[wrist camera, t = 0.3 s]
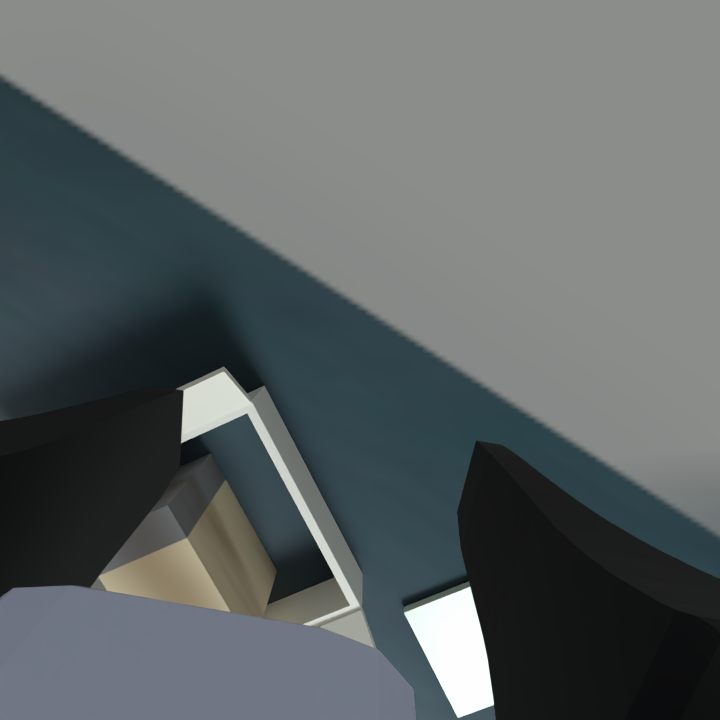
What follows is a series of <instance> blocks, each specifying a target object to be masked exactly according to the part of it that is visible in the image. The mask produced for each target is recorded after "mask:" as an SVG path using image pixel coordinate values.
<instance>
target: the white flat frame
mask: <svg viewBox="0 0 720 720" xmlns="http://www.w3.org/2000/svg"><path fill="white" fill-rule="evenodd" d="M177 390H183V391H184V396H183V416H182V436H181V443H183V442H185V441H187V440H189V439H191V438H194V437H196V436H198V435H200V434H202V433H205V432H207V431H209V430H211V429H213V428H216V427H218V426H220V425H222V424H224V423H227V422H229V421H231V420H233V419H235V418H238V417H240V416H242V415H244V414H246V413H247V414H248V415H249V417H250V419H251V421H252V423H253V425H254V427H255V429H256V430H257V432H258V434H259V436H260V438H261V440H262V442H263V444H264V445H265V447H266V449H267V451H268V453H269V455H270V457H271V458H272V460H273V462H274V464H275V466H276V468H277V470H278V472H279V473H280V475H281V477H282V479H283V481H284V483H285V485H286V487H287V488H288V490H289V492H290V494H291V496H292V498H293V500H294V501H295V503H296V505H297V507H298V509H299V511H300V513H301V515H302V516H303V518H304V520H305V522H306V524H307V526H308V528H309V530H310V531H311V533H312V535H313V537H314V539H315V541H316V543H317V544H318V546H319V548H320V550H321V552H322V554H323V556H324V558H325V559H326V561H327V563H328V565H329V567H330V569H331V571H332V573H333V574H334V576H335V577H334V578H332V579H329V580H327V581H324V582H322V583H319V584H317V585H315V586H312V587H310V588H307V589H305V590H302V591H300V592H297V593H295V594H292V595H290V596H287V597H285V598H283V599H280V600H278V601H275V602H273V603H270V604H268V605H267V607H266V610H265V613H264V617H263V618H268V619H273V620H279V621H285V622H291V623H297V624H302V625H308V626H314V627H320V628H325V629H327V630H330V631H332V632H335V633H337V634H340V635H342V636H345V637H348V638H350V639H353V640H355V641H358V642H360V643H363V644H365V645H368V646H370V647H373V648H375V649H376V646H375V643H374V640H373V637H372V634H371V631H370V629H369V626H368V623H367V620H366V617H365V614H364V611H363V609H362V577H363V574H362V572H361V570H360V568H359V566H358V564H357V562H356V560H355V558H354V556H353V554H352V553H351V551H350V549H349V547H348V545H347V543H346V541H345V539H344V537H343V535H342V533H341V531H340V530H339V528H338V526H337V524H336V522H335V520H334V518H333V516H332V514H331V512H330V510H329V508H328V507H327V505H326V503H325V501H324V499H323V497H322V495H321V493H320V491H319V489H318V487H317V485H316V484H315V482H314V480H313V478H312V476H311V474H310V472H309V470H308V468H307V466H306V464H305V462H304V461H303V459H302V457H301V455H300V453H299V451H298V449H297V447H296V445H295V443H294V441H293V439H292V438H291V436H290V434H289V432H288V430H287V428H286V426H285V424H284V422H283V420H282V418H281V416H280V415H279V413H278V411H277V409H276V407H275V405H274V403H273V401H272V399H271V397H270V395H269V393H268V392H267V390H266V388H265V386H262V387H260V388H258V389H256V390H254V391H251V392H249V393H246V392H245V390H244V389H243V388H242V387H241V386H240V385H239V383H238V382H237V381H236V380H235V379H234V377H233V376H232V375H231V374H230V373H229V372H228V370H227V369H226V368H225V367H222V368H220V369H218V370H215V371H213V372H211V373H209V374H207V375H205V376H203V377H200V378H198V379H196V380H194V381H192V382H190V383H188V384H186V385H183V386H181V387H179V388H177ZM91 588H93V589H99V590H105V591H107V590H106V588H105V587H104V585H103V583H102V582H101V580H100V579H99V577H98V578H97V579H96V581H95V582H94V583H93V585H92V586H91Z"/></svg>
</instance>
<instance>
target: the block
mask: <svg viewBox="0 0 720 720" xmlns="http://www.w3.org/2000/svg"><path fill="white" fill-rule="evenodd" d="M276 573H277V570H276V568H275V567H274V565H273V563H272V561H271V559H270V558H269V556H268V554H267V552H266V550H265V549H264V547H263V545H262V543H261V542H260V540H259V538H258V536H257V534H256V533H255V531H254V529H253V527H252V525H251V524H250V522H249V520H248V518H247V517H246V515H245V513H244V511H243V509H242V508H241V506H240V504H239V502H238V500H237V499H236V497H235V495H234V493H233V491H232V490H231V488H230V486H229V484H228V483H227V481H226V479H225V477H224V475H223V474H222V472H221V470H220V468H219V466H218V465H217V463H216V461H215V459H214V458H213V456H212V454H211V453H210V454H208V455H205V456H203V457H201V458H199V459H196V460H194V461H192V462H190V463H188V464H185V465H183V466H181V467H179V468H178V469H177V471H176V473H175V475H174V476H173V478H172V480H171V482H170V483H169V485H168V487H167V488H166V490H165V492H164V493H163V495H162V497H161V498H160V499H159V501H158V502H157V503H156V505H155V506H154V507H153V508H152V510H151V511H150V512H149V514H148V515H147V516H146V517H145V519H144V520H143V521H142V522H141V524H140V525H139V526H138V527H137V529H136V530H135V531H134V532H133V534H132V535H131V536H130V537H129V539H128V540H127V541H126V542H125V544H124V545H123V546H122V547H121V549H120V550H119V551H118V552H117V554H116V555H115V556H114V557H113V559H112V560H111V561H110V562H109V564H108V565H107V566H106V567H105V569H104V570H103V571H102V573H101V574H100V575H99V579H100V580H101V582H102V583H103V585H104V587H105V588H106V590H107V591H111V592H116V593H122V594H128V595H134V596H140V597H146V598H151V599H157V600H163V601H169V602H175V603H180V604H186V605H192V606H198V607H204V608H209V609H215V610H221V611H227V612H233V613H239V614H244V615H250V616H256V617H262V618H263V617H264V613H265V610H266V607H267V603H268V600H269V596H270V593H271V590H272V586H273V583H274V580H275V576H276Z"/></svg>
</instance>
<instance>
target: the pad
mask: <svg viewBox="0 0 720 720" xmlns="http://www.w3.org/2000/svg"><path fill="white" fill-rule="evenodd" d="M404 614H405V615H406V617H407V619H408V621H409V623H410V625H411V627H412V629H413V631H414V633H415V635H416V637H417V639H418V641H419V643H420V645H421V647H422V649H423V651H424V653H425V655H426V657H427V658H428V660H429V662H430V664H431V666H432V668H433V670H434V672H435V674H436V676H437V678H438V680H439V682H440V684H441V686H442V688H443V690H444V692H445V694H446V696H447V698H448V700H449V701H450V703H451V705H452V707H453V709H454V711H455V713H456V715H457V717H458V718H459V717H462V716H464V715H467V714H470V713H473V712H475V711H478V710H481V709H484V708H486V707H489V706H492V705H494V700H493V694H492V687H491V680H490V673H489V666H488V659H487V654H486V649H485V644H484V639H483V635H482V631H481V627H480V623H479V619H478V615H477V611H476V607H475V603H474V599H473V595H472V591H471V587H470V584H469V581H468V582H466V583H463V584H461V585H458V586H456V587H453V588H451V589H448V590H445V591H443V592H440V593H438V594H435V595H433V596H430V597H428V598H425V599H423V600H420V601H418V602H415V603H412V604H410V605H407V606H405V607H404Z"/></svg>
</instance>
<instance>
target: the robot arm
mask: <svg viewBox="0 0 720 720" xmlns="http://www.w3.org/2000/svg"><path fill="white" fill-rule="evenodd" d="M183 396H184V391H183V390H177V389H171V388H165V387H150V388H144V389H140V390H135V391H131V392H127V393H123V394H119V395H115V396H112V397H108V398H104V399H100V400H96V401H93V402H89V403H85V404H81V405H76V406H72V407H68V408H64V409H59V410H55V411H51V412H46V413H42V414H38V415H33V416H28V417H22V418H17V419H11V420H5V421H0V720H416V713H415V702H414V691H413V688H412V687H411V686H410V685H409V684H408V683H407V682H406V680H405V679H404V678H403V677H402V676H401V675H400V674H399V672H398V671H397V670H396V669H395V668H394V667H393V666H392V665H391V663H390V662H389V661H388V660H387V659H386V658H385V657H384V655H383V654H382V653H381V652H380V651H379V650H377V649H375V648H373V647H370V646H368V645H365V644H363V643H360V642H358V641H355V640H353V639H350V638H348V637H345V636H342V635H340V634H337V633H335V632H332V631H330V630H327V629H325V628H320V627H314V626H308V625H302V624H297V623H291V622H285V621H279V620H273V619H268V618H262V617H256V616H250V615H244V614H239V613H233V612H227V611H221V610H215V609H209V608H204V607H198V606H192V605H186V604H180V603H175V602H169V601H163V600H157V599H151V598H146V597H140V596H134V595H128V594H122V593H116V592H111V591H105V590H99V589H93V588H91V586H92V585H93V583H94V582H95V581H96V579H97V578H98V577H99V575H100V574H101V573H102V571H103V570H104V569H105V567H106V566H107V565H108V564H109V562H110V561H111V560H112V559H113V557H114V556H115V555H116V554H117V552H118V551H119V550H120V549H121V547H122V546H123V545H124V544H125V542H126V541H127V540H128V539H129V537H130V536H131V535H132V534H133V532H134V531H135V530H136V529H137V527H138V526H139V525H140V524H141V522H142V521H143V520H144V519H145V517H146V516H147V515H148V514H149V512H150V511H151V510H152V508H153V507H154V506H155V505H156V503H157V502H158V501H159V499H160V498H161V497H162V495H163V493H164V492H165V490H166V488H167V487H168V485H169V483H170V482H171V480H172V478H173V476H174V475H175V473H176V471H177V469H178V467H179V466H180V456H181V436H182V416H183ZM457 514H458V526H459V536H460V544H461V551H462V555H463V559H464V563H465V567H466V571H467V576H468V580H469V584H470V587H471V591H472V595H473V599H474V603H475V607H476V611H477V615H478V619H479V623H480V627H481V631H482V635H483V639H484V644H485V649H486V654H487V659H488V666H489V673H490V680H491V687H492V694H493V700H494V708H495V716H496V720H720V579H719V578H716V577H714V576H712V575H710V574H708V573H705V572H703V571H701V570H699V569H696V568H694V567H692V566H690V565H688V564H686V563H684V562H682V561H680V560H678V559H676V558H674V557H672V556H670V555H668V554H666V553H664V552H662V551H660V550H658V549H656V548H654V547H652V546H650V545H649V544H647V543H645V542H643V541H641V540H639V539H638V538H636V537H634V536H633V535H631V534H629V533H627V532H626V531H624V530H622V529H621V528H619V527H617V526H616V525H614V524H612V523H610V522H609V521H607V520H606V519H604V518H603V517H601V516H599V515H598V514H596V513H595V512H593V511H592V510H590V509H589V508H587V507H586V506H585V505H583V504H582V503H580V502H579V501H577V500H576V499H574V498H573V497H572V496H570V495H569V494H567V493H566V492H565V491H563V490H562V489H561V488H559V487H558V486H557V485H555V484H554V483H553V482H551V481H550V480H549V479H547V478H546V477H545V476H543V475H542V474H541V473H540V472H538V471H537V470H536V469H534V468H533V467H532V466H531V465H529V464H528V463H527V462H525V461H524V460H523V459H522V458H520V457H519V456H518V455H516V454H515V453H513V452H512V451H511V450H509V449H507V448H506V447H504V446H502V445H499V444H493V443H487V442H481V441H476V443H475V447H474V451H473V454H472V458H471V462H470V466H469V470H468V473H467V477H466V481H465V485H464V489H463V492H462V496H461V500H460V504H459V507H458V511H457Z"/></svg>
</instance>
